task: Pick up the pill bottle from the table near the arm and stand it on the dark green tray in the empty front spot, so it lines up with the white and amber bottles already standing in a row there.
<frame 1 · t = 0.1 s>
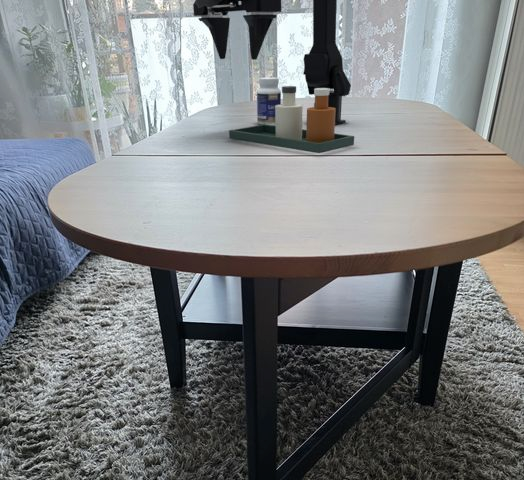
hand: (237, 59, 98), 15 cm above the table, tool pointing down, fingers open, 9 cm apart
tray: (288, 144, 100), on the table
amber bottle: (319, 145, 95), point 1 cm above the table, touching tray
pill bottle: (269, 124, 124), on the table
white bottle: (288, 141, 100), point 1 cm above the table, touching tray
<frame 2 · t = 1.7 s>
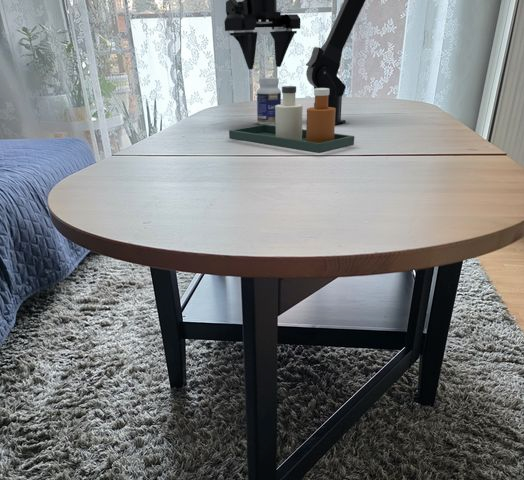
hand: (264, 68, 115), 12 cm above the table, tool pointing down, fingers open, 9 cm apart
nothing on the table moved.
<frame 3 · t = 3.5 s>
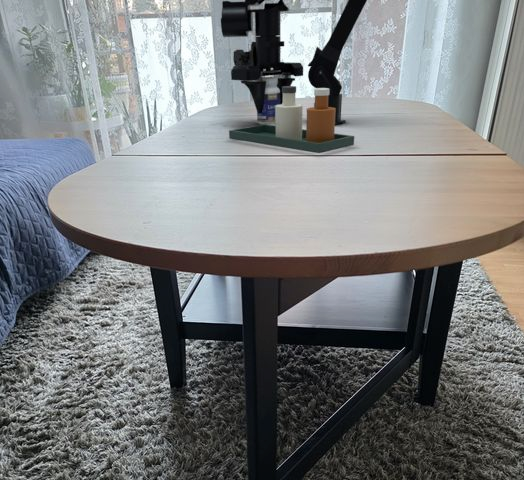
hand: (268, 111, 123), 3 cm above the table, tool pointing down, fingers closed on pill bottle, 6 cm apart
pill bottle: (269, 124, 124), on the table, touching gripper
everything else where it was.
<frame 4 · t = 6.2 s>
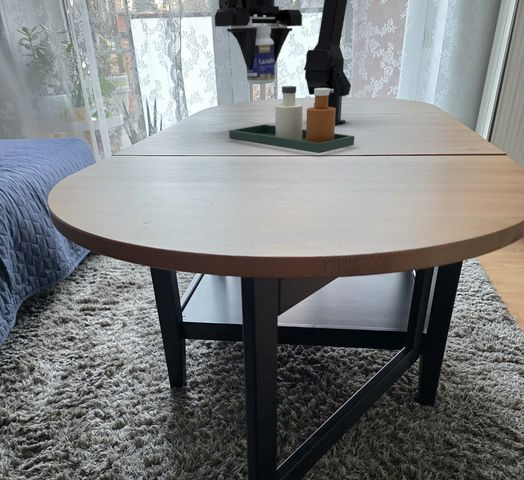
hand: (260, 68, 104), 13 cm above the table, tool pointing down, fingers closed on pill bottle, 6 cm apart
pill bottle: (261, 84, 105), point 10 cm above the table, touching gripper
everything else where it was.
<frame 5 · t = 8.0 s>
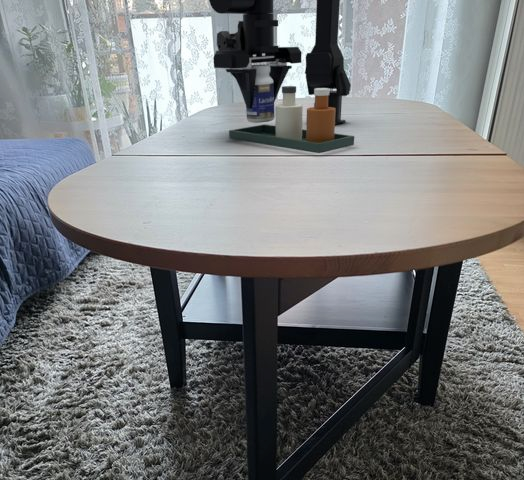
hand: (260, 106, 102), 6 cm above the table, tool pointing down, fingers closed on pill bottle, 6 cm apart
pill bottle: (261, 121, 104), point 3 cm above the table, touching gripper
everything else where it was.
when the fingers open (3 cm above the table, at t = 9.3 s): pill bottle stays where it is, resting on tray.
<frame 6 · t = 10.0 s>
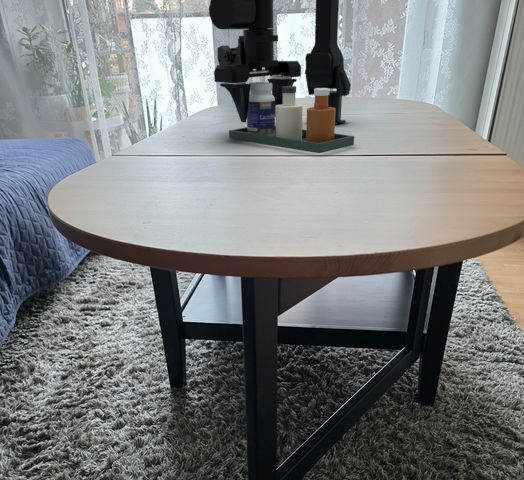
hand: (260, 119, 103), 4 cm above the table, tool pointing down, fingers open, 9 cm apart
pill bottle: (261, 137, 105), resting on tray
everything else where it was.
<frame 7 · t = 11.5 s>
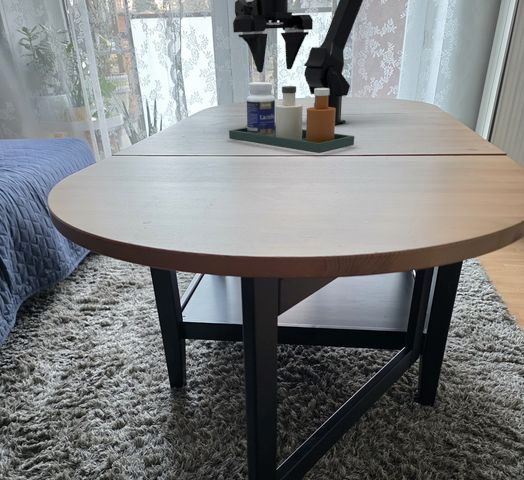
hand: (274, 70, 110), 12 cm above the table, tool pointing down, fingers open, 9 cm apart
nothing on the table moved.
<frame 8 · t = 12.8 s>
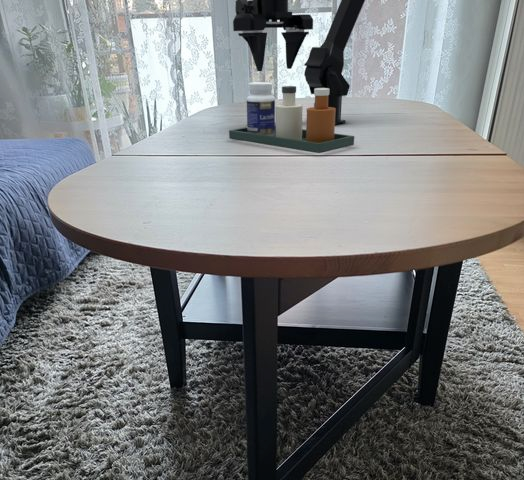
hand: (274, 69, 111), 12 cm above the table, tool pointing down, fingers open, 9 cm apart
nothing on the table moved.
at the end: pill bottle 0.2 cm from the target spot in the tray, point 0.4 cm above the tray's base; pill bottle tilted 0°; the gripper is holding nothing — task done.
